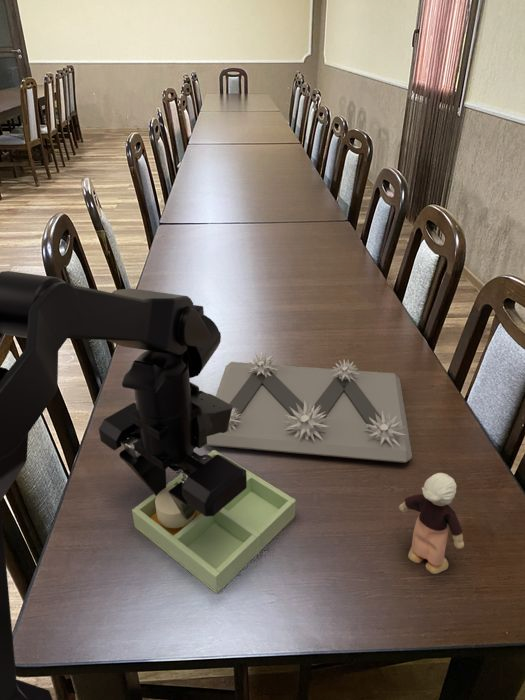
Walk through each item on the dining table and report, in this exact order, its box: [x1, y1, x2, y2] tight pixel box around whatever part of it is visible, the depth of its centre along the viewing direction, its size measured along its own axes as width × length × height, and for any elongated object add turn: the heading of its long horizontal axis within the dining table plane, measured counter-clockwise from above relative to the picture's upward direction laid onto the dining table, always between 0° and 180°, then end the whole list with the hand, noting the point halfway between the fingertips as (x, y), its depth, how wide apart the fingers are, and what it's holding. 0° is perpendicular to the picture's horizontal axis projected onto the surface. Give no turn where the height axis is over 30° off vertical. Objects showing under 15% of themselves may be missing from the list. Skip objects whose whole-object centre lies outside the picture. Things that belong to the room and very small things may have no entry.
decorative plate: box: [205, 351, 413, 464], centre depth 83 cm, size 30×22×7 cm
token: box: [155, 485, 195, 528], centre depth 65 cm, size 5×5×2 cm
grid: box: [131, 449, 297, 595], centre depth 66 cm, size 14×14×3 cm
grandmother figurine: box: [398, 472, 465, 575], centre depth 59 cm, size 8×4×13 cm, turn 58°
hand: (175, 506), depth 65 cm, fingers closed on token, 5 cm apart
